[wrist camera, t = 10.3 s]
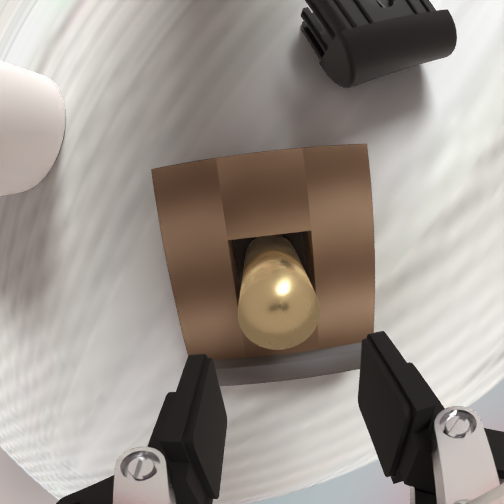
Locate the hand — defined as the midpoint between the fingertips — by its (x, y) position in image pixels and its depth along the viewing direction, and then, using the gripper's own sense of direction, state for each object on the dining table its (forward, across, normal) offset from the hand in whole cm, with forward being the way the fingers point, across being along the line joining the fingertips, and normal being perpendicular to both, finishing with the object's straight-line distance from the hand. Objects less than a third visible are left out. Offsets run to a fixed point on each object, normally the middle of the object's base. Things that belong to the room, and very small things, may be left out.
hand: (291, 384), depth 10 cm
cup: (+16, +22, -15) cm, 31 cm away
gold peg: (+15, 0, 0) cm, 15 cm away
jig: (+15, 0, 0) cm, 15 cm away
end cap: (+16, -10, -17) cm, 25 cm away
